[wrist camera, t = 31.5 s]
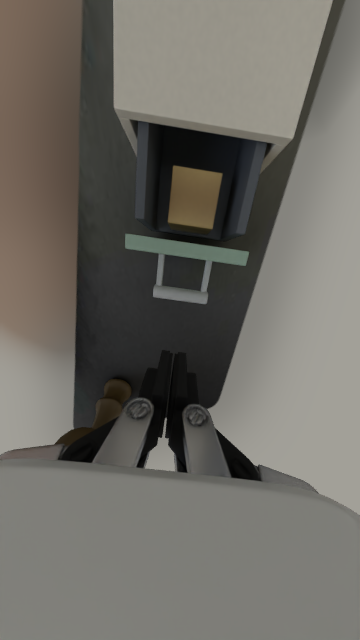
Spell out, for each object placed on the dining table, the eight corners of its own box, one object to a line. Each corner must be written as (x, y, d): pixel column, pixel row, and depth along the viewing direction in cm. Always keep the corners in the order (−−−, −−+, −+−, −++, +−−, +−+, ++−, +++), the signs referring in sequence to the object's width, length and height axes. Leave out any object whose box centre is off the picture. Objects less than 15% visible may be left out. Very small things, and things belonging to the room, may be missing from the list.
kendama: (100, 402, 33) (-10, 593, 14) (107, 363, 30) (-25, 546, 11) (130, 409, 33) (61, 602, 15) (139, 371, 30) (68, 560, 11)
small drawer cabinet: (244, 191, 20) (293, 138, 11) (145, 175, 20) (113, 108, 11) (286, 5, 15) (437, -360, 6) (154, -21, 15) (110, -450, 6)
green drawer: (217, 296, 24) (232, 314, 17) (142, 286, 24) (124, 299, 16) (253, 134, 18) (303, 49, 10) (151, 117, 17) (128, 16, 10)
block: (175, 185, 18) (173, 164, 14) (214, 191, 19) (223, 172, 14) (170, 229, 20) (167, 222, 16) (206, 234, 20) (212, 229, 16)
